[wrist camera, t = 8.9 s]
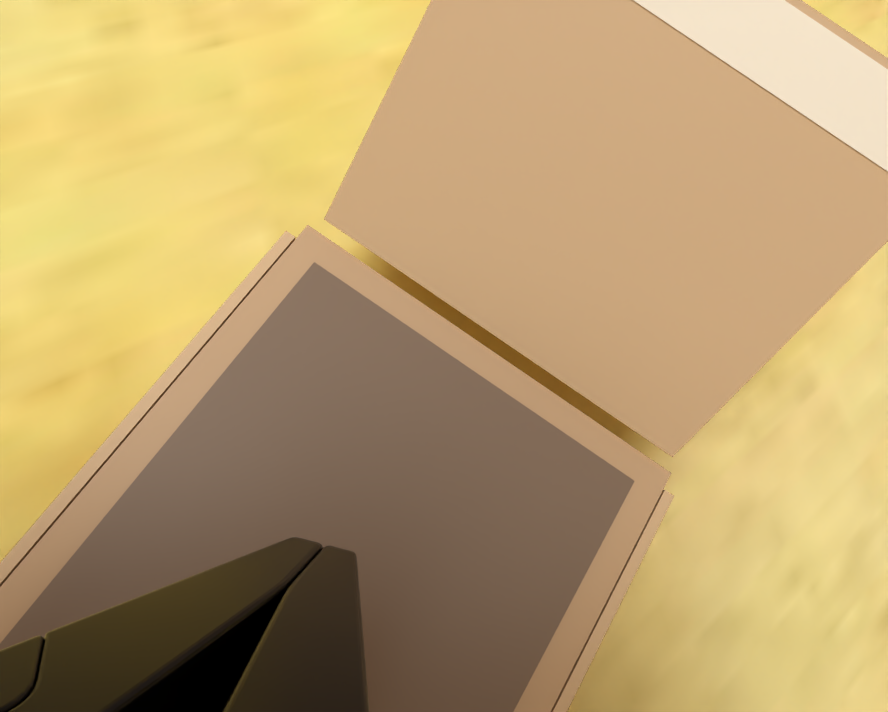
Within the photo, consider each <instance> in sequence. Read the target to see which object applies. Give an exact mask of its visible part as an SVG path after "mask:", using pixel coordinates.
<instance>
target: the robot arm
mask: <svg viewBox="0 0 888 712" xmlns="http://www.w3.org/2000/svg"><path fill="white" fill-rule="evenodd" d="M0 712H369V699H368V687H367V675H366V663H365V651H364V639H363V627H362V615H361V603H360V591H359V579H358V567H357V556H356V554H355V553H354V552H353V551H349V550H345V549H342V548H338V547H334V546H325V547H324V548H323V546H322V544H320V543H318V542H314V541H310V540H306V539H303V538H299V537H291V538H288V539H286V540H283V541H280V542H278V543H275V544H273V545H270V546H268V547H265V548H262V549H260V550H257V551H255V552H252V553H250V554H247V555H244V556H242V557H239V558H237V559H234V560H232V561H229V562H226V563H224V564H221V565H219V566H216V567H214V568H211V569H208V570H206V571H203V572H201V573H198V574H196V575H193V576H190V577H188V578H185V579H183V580H180V581H178V582H175V583H172V584H170V585H167V586H165V587H162V588H160V589H157V590H154V591H152V592H149V593H147V594H144V595H142V596H139V597H137V598H134V599H131V600H129V601H126V602H124V603H121V604H119V605H116V606H113V607H111V608H108V609H106V610H103V611H100V612H98V613H95V614H93V615H90V616H88V617H85V618H82V619H80V620H77V621H75V622H72V623H70V624H67V625H64V626H62V627H59V628H57V629H54V630H52V631H49V632H47V633H46V635H45V637H44V638H43V637H42V636H40V635H39V636H36V637H33V638H31V639H28V640H25V641H23V642H20V643H18V644H15V645H13V646H10V647H7V648H5V649H2V650H0Z"/></svg>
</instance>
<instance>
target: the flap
mask: <svg viewBox="0 0 888 712" xmlns="http://www.w3.org/2000/svg"><path fill="white" fill-rule="evenodd" d="M324 220H326V221H327V222H329V223H330V224H332V225H333V226H335V227H336V228H338V229H339V230H341V231H342V232H343V233H345V234H346V235H348V236H349V237H351V238H352V239H354V240H355V241H357V242H358V243H360V244H361V245H363V246H364V247H365V248H367V249H368V250H370V251H371V252H373V253H374V254H376V255H377V256H379V257H380V258H382V259H383V260H384V261H386V262H387V263H389V264H390V265H392V266H393V267H395V268H396V269H398V270H399V271H401V272H402V273H404V274H405V275H406V276H408V277H409V278H411V279H412V280H414V281H415V282H417V283H418V284H420V285H421V286H423V287H424V288H426V289H427V290H428V291H430V292H431V293H433V294H434V295H436V296H437V297H439V298H440V299H442V300H443V301H445V302H446V303H448V304H449V305H450V306H452V307H453V308H455V309H456V310H458V311H459V312H461V313H462V314H464V315H465V316H467V317H468V318H469V319H471V320H472V321H474V322H475V323H477V324H478V325H480V326H481V327H483V328H484V329H486V330H487V331H489V332H490V333H491V334H493V335H494V336H496V337H497V338H499V339H500V340H502V341H503V342H505V343H506V344H508V345H509V346H511V347H512V348H513V349H515V350H516V351H518V352H519V353H521V354H522V355H524V356H525V357H527V358H528V359H530V360H531V361H532V362H534V363H535V364H537V365H538V366H540V367H541V368H543V369H544V370H546V371H547V372H549V373H550V374H552V375H553V376H554V377H556V378H557V379H559V380H560V381H562V382H563V383H565V384H566V385H568V386H569V387H571V388H572V389H574V390H575V391H576V392H578V393H579V394H581V395H582V396H584V397H585V398H587V399H588V400H590V401H591V402H593V403H594V404H595V405H597V406H598V407H600V408H601V409H603V410H604V411H606V412H607V413H609V414H610V415H612V416H613V417H615V418H616V419H617V420H619V421H620V422H622V423H623V424H625V425H626V426H628V427H629V428H631V429H632V430H634V431H635V432H637V433H638V434H639V435H641V436H642V437H644V438H645V439H647V440H648V441H650V442H651V443H653V444H654V445H656V446H657V447H659V448H660V449H661V450H663V451H664V452H666V453H667V454H669V455H670V456H672V457H673V456H674V455H675V454H676V453H677V452H678V451H679V450H680V449H681V448H682V447H683V446H684V445H685V444H686V443H687V442H688V441H689V440H690V439H691V438H692V437H693V436H694V435H695V434H696V433H697V432H698V431H699V430H700V429H701V428H702V427H703V426H704V425H705V424H706V423H707V422H708V421H709V420H710V419H711V418H712V417H713V416H714V415H715V414H716V413H717V412H718V411H719V410H720V409H721V408H722V407H723V406H724V405H725V404H726V403H727V402H728V401H729V400H730V399H731V398H732V397H733V396H734V395H735V394H736V393H737V392H738V391H739V390H740V389H741V388H742V387H743V386H744V385H745V384H746V383H747V382H748V381H749V380H750V379H751V378H752V377H753V376H754V375H755V374H756V373H757V372H758V371H759V370H760V369H761V368H762V367H763V366H764V365H765V364H766V363H767V362H768V361H769V360H770V359H771V358H772V357H773V356H774V355H775V354H776V353H777V352H778V351H779V350H780V349H781V348H782V347H783V346H784V345H785V344H786V343H787V342H788V341H789V340H790V339H791V338H792V337H793V336H794V335H795V334H796V333H797V332H798V331H799V330H800V329H801V328H802V327H803V326H804V325H805V324H806V323H807V322H808V321H809V320H810V319H811V318H812V317H813V316H814V315H815V314H816V313H817V312H818V311H819V310H820V309H821V308H822V307H823V306H824V305H825V304H826V303H827V302H828V301H829V300H830V299H831V298H832V297H833V296H834V295H835V293H836V292H837V291H838V290H839V289H840V288H841V287H842V286H843V285H844V284H845V283H846V282H847V281H848V280H849V279H850V278H851V277H852V276H853V275H854V274H855V273H856V272H857V271H858V270H859V269H860V268H861V267H862V266H863V265H864V264H865V263H866V262H867V261H868V260H869V259H870V258H871V257H872V256H873V255H874V254H875V253H876V252H877V251H878V250H879V249H880V248H881V247H882V246H883V245H884V244H885V243H886V242H887V241H888V58H887V57H885V56H884V55H882V54H881V53H879V52H878V51H876V50H875V49H873V48H872V47H870V46H869V45H867V44H866V43H864V42H863V41H861V40H860V39H858V38H857V37H855V36H854V35H852V34H851V33H849V32H848V31H846V30H845V29H843V28H842V27H840V26H839V25H838V24H836V23H835V22H833V21H832V20H830V19H829V18H827V17H826V16H824V15H823V14H821V13H820V12H818V11H817V10H815V9H814V8H812V7H811V6H809V5H808V4H806V3H805V2H803V1H802V0H431V2H430V4H429V6H428V8H427V10H426V12H425V14H424V16H423V18H422V20H421V22H420V24H419V27H418V29H417V31H416V33H415V35H414V37H413V39H412V41H411V43H410V45H409V47H408V49H407V51H406V53H405V55H404V57H403V59H402V61H401V63H400V65H399V67H398V69H397V71H396V73H395V75H394V77H393V80H392V82H391V84H390V86H389V88H388V90H387V92H386V94H385V96H384V98H383V100H382V102H381V104H380V106H379V108H378V110H377V112H376V114H375V116H374V118H373V120H372V122H371V124H370V126H369V128H368V131H367V133H366V135H365V137H364V139H363V141H362V143H361V145H360V147H359V149H358V151H357V153H356V155H355V157H354V159H353V161H352V163H351V165H350V167H349V169H348V171H347V173H346V175H345V177H344V179H343V181H342V184H341V186H340V188H339V190H338V192H337V194H336V196H335V198H334V200H333V202H332V204H331V206H330V208H329V210H328V212H327V214H326V216H325V218H324Z"/></svg>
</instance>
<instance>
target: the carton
mask: <svg viewBox="0 0 888 712" xmlns="http://www.w3.org/2000/svg"><path fill="white" fill-rule="evenodd" d="M670 475H671V473H670V472H669V471H667V470H666V469H665V468H663V467H662V466H660V465H659V464H657V463H656V462H654V461H653V460H651V459H650V458H648V457H647V456H646V455H644V454H643V453H641V452H640V451H638V450H637V449H635V448H634V447H632V446H631V445H629V444H628V443H626V442H625V441H624V440H622V439H621V438H619V437H618V436H616V435H615V434H613V433H612V432H610V431H609V430H607V429H606V428H605V427H603V426H602V425H600V424H599V423H597V422H596V421H594V420H593V419H591V418H590V417H588V416H587V415H585V414H584V413H583V412H581V411H580V410H578V409H577V408H575V407H574V406H572V405H571V404H569V403H568V402H566V401H565V400H564V399H562V398H561V397H559V396H558V395H556V394H555V393H553V392H552V391H550V390H549V389H547V388H546V387H544V386H543V385H542V384H540V383H539V382H537V381H536V380H534V379H533V378H531V377H530V376H528V375H527V374H525V373H524V372H523V371H521V370H520V369H518V368H517V367H515V366H514V365H512V364H511V363H509V362H508V361H506V360H505V359H503V358H502V357H501V356H499V355H498V354H496V353H495V352H493V351H492V350H490V349H489V348H487V347H486V346H484V345H483V344H482V343H480V342H479V341H477V340H476V339H474V338H473V337H471V336H470V335H468V334H467V333H465V332H464V331H462V330H461V329H460V328H458V327H457V326H455V325H454V324H452V323H451V322H449V321H448V320H446V319H445V318H443V317H442V316H441V315H439V314H438V313H436V312H435V311H433V310H432V309H430V308H429V307H427V306H426V305H424V304H423V303H421V302H420V301H419V300H417V299H416V298H414V297H413V296H411V295H410V294H408V293H407V292H405V291H404V290H402V289H401V288H399V287H398V286H397V285H395V284H394V283H392V282H391V281H389V280H388V279H386V278H385V277H383V276H382V275H380V274H379V273H378V272H376V271H375V270H373V269H372V268H370V267H369V266H367V265H366V264H364V263H363V262H361V261H360V260H358V259H357V258H356V257H354V256H353V255H351V254H350V253H348V252H347V251H345V250H344V249H342V248H341V247H339V246H338V245H337V244H335V243H334V242H332V241H331V240H329V239H328V238H326V237H325V236H323V235H322V234H320V233H319V232H317V231H316V230H315V229H313V228H312V227H310V226H309V225H307V226H306V228H305V229H304V230H303V231H302V232H301V233H300V235H299V236H298V237H297V238H296V239H295V237H294V236H293V235H292V234H290V233H289V232H287V231H285V233H284V234H283V235H282V236H281V237H280V238H279V240H278V241H277V242H276V243H275V244H274V245H273V246H272V248H271V249H270V250H269V251H268V252H267V253H266V255H265V256H264V257H263V258H262V259H261V260H260V262H259V263H258V264H257V265H256V266H255V267H254V269H253V270H252V271H251V272H250V273H249V274H248V276H247V277H246V278H245V279H244V280H243V281H242V283H241V284H240V285H239V286H238V287H237V288H236V289H235V291H234V292H233V293H232V294H231V295H230V296H229V298H228V299H227V300H226V301H225V302H224V303H223V305H222V306H221V307H220V308H219V309H218V310H217V312H216V313H215V314H214V315H213V316H212V317H211V319H210V320H209V321H208V322H207V323H206V324H205V325H204V327H203V328H202V329H201V330H200V331H199V332H198V334H197V335H196V336H195V337H194V338H193V339H192V341H191V342H190V343H189V344H188V345H187V346H186V348H185V349H184V350H183V351H182V352H181V353H180V355H179V356H178V357H177V358H176V359H175V360H174V362H173V363H172V364H171V365H170V366H169V367H168V368H167V370H166V371H165V372H164V373H163V374H162V375H161V377H160V378H159V379H158V380H157V381H156V382H155V384H154V385H153V386H152V387H151V388H150V389H149V391H148V392H147V393H146V394H145V395H144V396H143V398H142V399H141V400H140V401H139V402H138V403H137V404H136V406H135V407H134V408H133V409H132V410H131V411H130V413H129V414H128V415H127V416H126V417H125V418H124V420H123V421H122V422H121V423H120V424H119V425H118V427H117V428H116V429H115V430H114V431H113V432H112V434H111V435H110V436H109V437H108V438H107V439H106V440H105V442H104V443H103V444H102V445H101V446H100V447H99V449H98V450H97V451H96V452H95V453H94V454H93V456H92V457H91V458H90V459H89V460H88V461H87V463H86V464H85V465H84V466H83V467H82V468H81V470H80V471H79V472H78V473H77V474H76V475H75V477H74V478H73V479H72V480H71V481H70V482H69V483H68V485H67V486H66V487H65V488H64V489H63V490H62V492H61V493H60V494H59V495H58V496H57V497H56V499H55V500H54V501H53V502H52V503H51V504H50V506H49V507H48V508H47V509H46V510H45V511H44V513H43V514H42V515H41V516H40V517H39V518H38V519H37V521H36V522H35V523H34V524H33V525H32V526H31V528H30V529H29V530H28V531H27V532H26V533H25V535H24V536H23V537H22V538H21V539H20V540H19V542H18V543H17V544H16V545H15V546H14V547H13V549H12V550H11V551H10V552H9V553H8V554H7V555H6V557H5V558H4V559H3V560H2V561H1V562H0V650H2V649H5V648H7V647H10V646H13V645H15V644H18V643H20V642H23V641H25V640H28V639H31V638H33V637H36V636H39V635H40V636H42V637H43V638H44V637H45V635H46V633H47V632H49V631H52V630H54V629H57V628H59V627H62V626H64V625H67V624H70V623H72V622H75V621H77V620H80V619H82V618H85V617H88V616H90V615H93V614H95V613H98V612H100V611H103V610H106V609H108V608H111V607H113V606H116V605H119V604H121V603H124V602H126V601H129V600H131V599H134V598H137V597H139V596H142V595H144V594H147V593H149V592H152V591H154V590H157V589H160V588H162V587H165V586H167V585H170V584H172V583H175V582H178V581H180V580H183V579H185V578H188V577H190V576H193V575H196V574H198V573H201V572H203V571H206V570H208V569H211V568H214V567H216V566H219V565H221V564H224V563H226V562H229V561H232V560H234V559H237V558H239V557H242V556H244V555H247V554H250V553H252V552H255V551H257V550H260V549H262V548H265V547H268V546H270V545H273V544H275V543H278V542H280V541H283V540H286V539H288V538H291V537H299V538H303V539H306V540H310V541H314V542H318V543H320V544H322V546H323V548H324V547H325V546H334V547H338V548H342V549H345V550H349V551H353V552H354V553H355V554H356V556H357V567H358V579H359V591H360V603H361V615H362V627H363V639H364V651H365V663H366V675H367V687H368V699H369V712H567V711H568V709H569V707H570V705H571V703H572V701H573V698H574V696H575V694H576V692H577V690H578V688H579V686H580V684H581V682H582V680H583V678H584V676H585V674H586V672H587V670H588V668H589V666H590V664H591V662H592V660H593V658H594V656H595V654H596V652H597V650H598V648H599V646H600V644H601V642H602V640H603V638H604V636H605V634H606V632H607V630H608V628H609V626H610V624H611V622H612V620H613V618H614V616H615V614H616V612H617V610H618V608H619V606H620V604H621V602H622V600H623V598H624V596H625V594H626V592H627V590H628V588H629V586H630V584H631V582H632V580H633V578H634V576H635V574H636V572H637V570H638V568H639V566H640V564H641V562H642V560H643V558H644V556H645V554H646V552H647V550H648V548H649V546H650V544H651V542H652V540H653V538H654V536H655V534H656V532H657V530H658V528H659V526H660V524H661V522H662V520H663V518H664V516H665V514H666V512H667V510H668V508H669V506H670V504H671V502H672V500H673V498H674V495H672V494H671V493H669V492H668V491H666V490H663V489H664V487H665V485H666V483H667V481H668V479H669V477H670Z"/></svg>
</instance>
